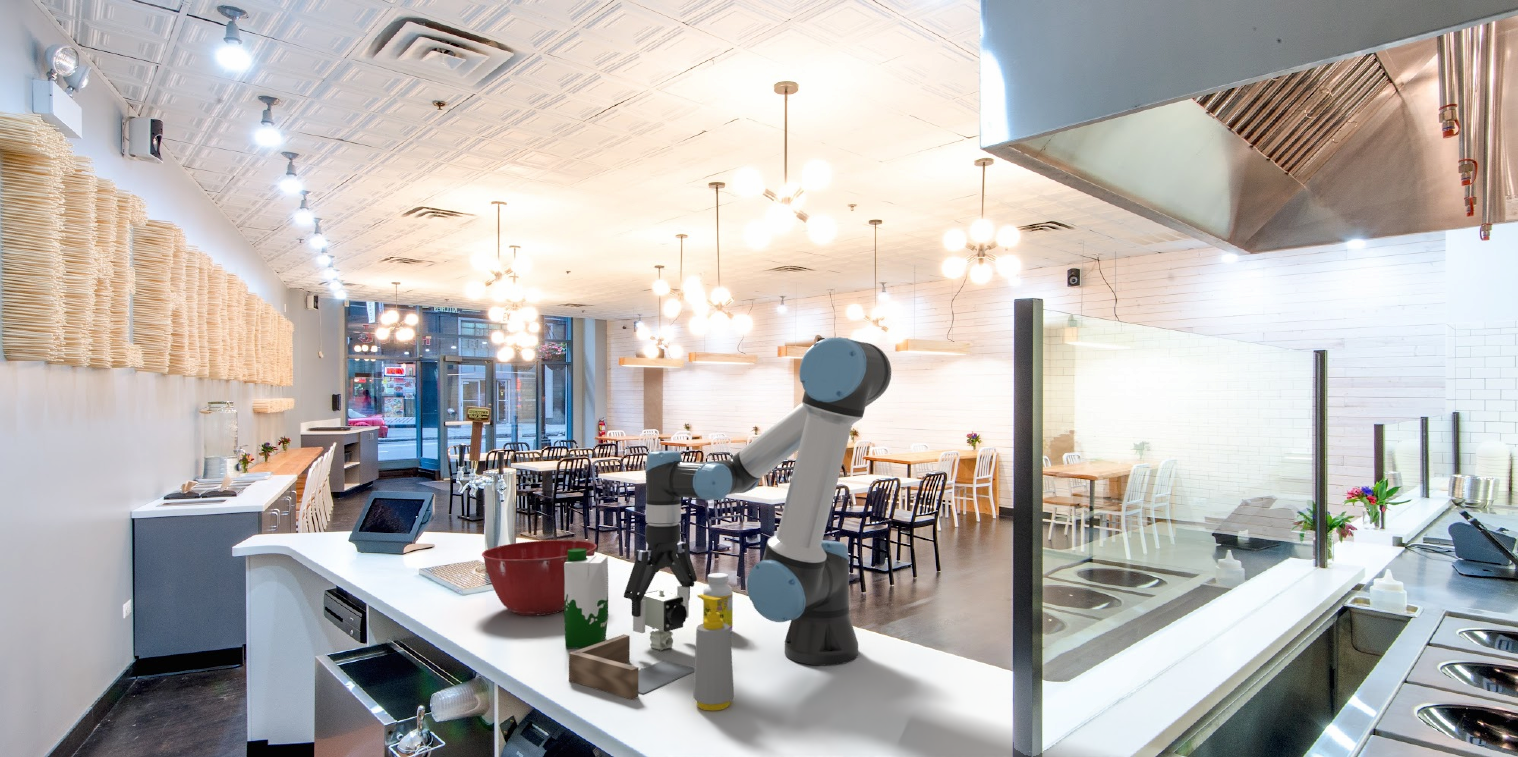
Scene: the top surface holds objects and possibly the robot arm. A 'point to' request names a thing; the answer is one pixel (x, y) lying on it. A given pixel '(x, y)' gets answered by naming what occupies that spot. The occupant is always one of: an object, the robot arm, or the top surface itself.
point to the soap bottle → (713, 661)
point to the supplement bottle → (722, 591)
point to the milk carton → (585, 599)
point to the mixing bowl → (531, 574)
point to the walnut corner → (606, 667)
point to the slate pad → (660, 675)
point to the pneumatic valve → (663, 617)
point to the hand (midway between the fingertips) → (661, 623)
